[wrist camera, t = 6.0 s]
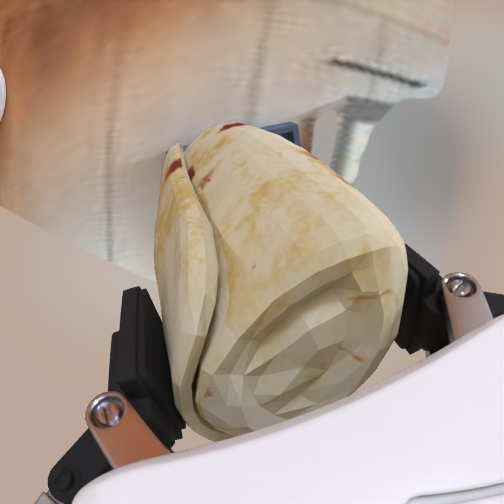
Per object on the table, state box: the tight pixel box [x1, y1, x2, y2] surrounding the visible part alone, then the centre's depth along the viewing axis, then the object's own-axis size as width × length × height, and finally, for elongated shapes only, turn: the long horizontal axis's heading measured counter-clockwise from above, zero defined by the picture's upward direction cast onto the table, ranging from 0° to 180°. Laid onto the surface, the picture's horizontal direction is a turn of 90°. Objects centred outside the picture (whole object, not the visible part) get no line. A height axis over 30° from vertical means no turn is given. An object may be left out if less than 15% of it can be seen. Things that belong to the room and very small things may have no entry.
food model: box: [154, 122, 408, 442], centre depth 16 cm, size 10×7×20 cm
